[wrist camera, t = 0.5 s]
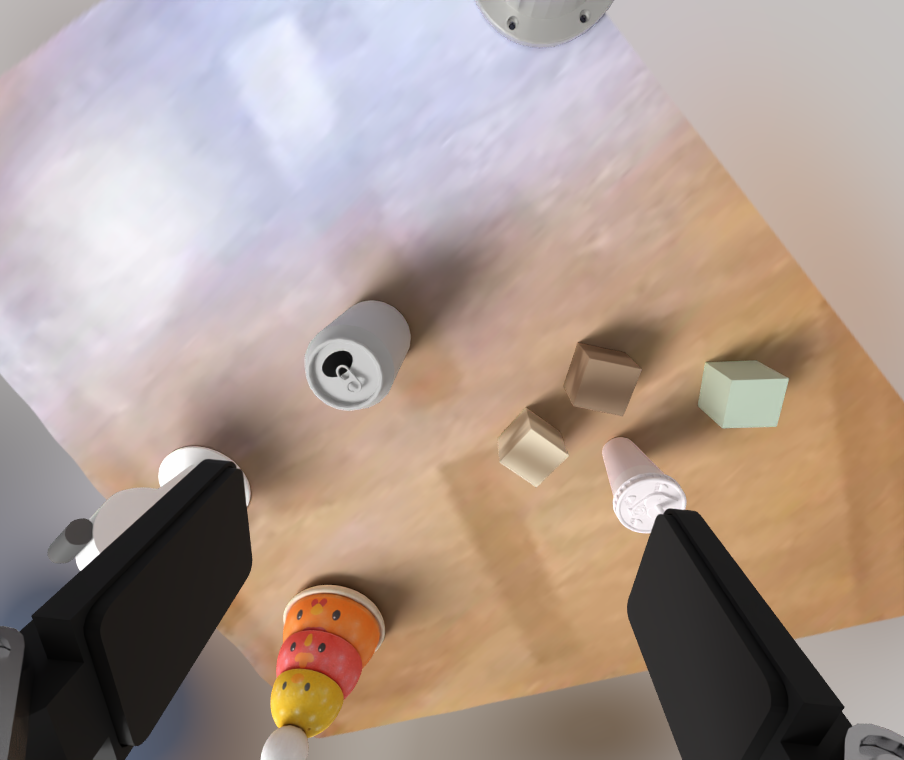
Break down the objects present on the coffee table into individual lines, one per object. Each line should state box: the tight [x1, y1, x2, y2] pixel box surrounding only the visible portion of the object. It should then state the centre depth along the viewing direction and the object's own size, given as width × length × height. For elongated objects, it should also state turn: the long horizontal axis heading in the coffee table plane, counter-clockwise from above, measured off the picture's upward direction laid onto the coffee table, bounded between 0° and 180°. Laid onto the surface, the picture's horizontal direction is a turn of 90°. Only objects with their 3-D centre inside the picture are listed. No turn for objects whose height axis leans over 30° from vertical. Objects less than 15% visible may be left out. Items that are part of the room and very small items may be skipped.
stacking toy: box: [261, 585, 385, 760], centre depth 52 cm, size 14×14×20 cm
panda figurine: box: [48, 446, 251, 571], centre depth 46 cm, size 12×11×15 cm
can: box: [305, 300, 411, 411], centre depth 39 cm, size 8×8×12 cm
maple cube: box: [497, 408, 569, 488], centre depth 46 cm, size 5×5×5 cm
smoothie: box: [602, 437, 686, 533], centre depth 42 cm, size 6×6×14 cm
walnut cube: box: [564, 343, 642, 416], centre depth 42 cm, size 5×5×5 cm
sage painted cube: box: [698, 360, 789, 428], centre depth 42 cm, size 5×5×5 cm
